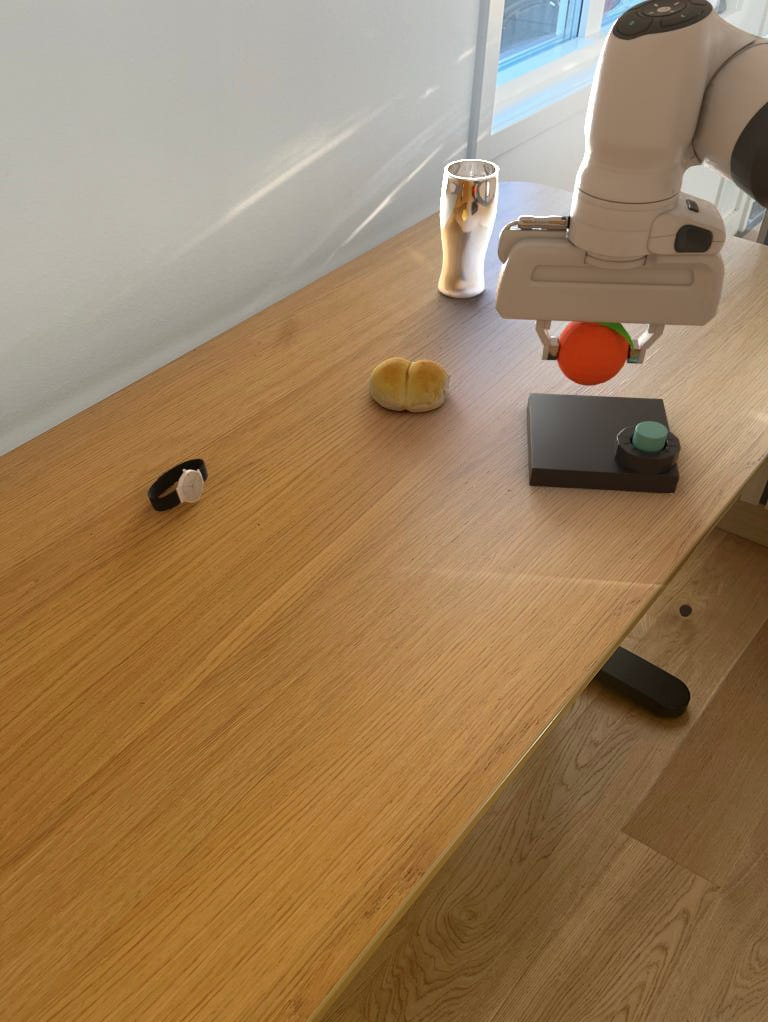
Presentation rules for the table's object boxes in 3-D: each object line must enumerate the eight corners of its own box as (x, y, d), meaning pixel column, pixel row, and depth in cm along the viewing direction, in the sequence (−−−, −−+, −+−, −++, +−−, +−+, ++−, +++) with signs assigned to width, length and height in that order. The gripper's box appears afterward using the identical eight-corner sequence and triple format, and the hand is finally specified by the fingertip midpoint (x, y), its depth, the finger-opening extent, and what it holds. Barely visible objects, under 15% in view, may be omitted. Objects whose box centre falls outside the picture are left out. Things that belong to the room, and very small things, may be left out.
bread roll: (377, 373, 111) (378, 341, 108) (452, 382, 109) (455, 350, 106) (360, 410, 106) (360, 378, 103) (439, 420, 104) (441, 388, 101)
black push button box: (657, 416, 103) (667, 383, 100) (674, 494, 93) (684, 460, 90) (526, 410, 104) (531, 377, 102) (528, 486, 95) (534, 453, 92)
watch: (174, 523, 93) (170, 493, 91) (138, 508, 95) (132, 479, 92) (220, 482, 98) (217, 453, 95) (184, 469, 99) (179, 440, 97)
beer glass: (431, 298, 124) (439, 178, 113) (438, 274, 128) (446, 157, 118) (484, 301, 122) (498, 181, 112) (489, 277, 127) (503, 159, 116)
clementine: (644, 383, 95) (661, 316, 90) (604, 411, 92) (620, 343, 87) (576, 356, 99) (589, 291, 94) (536, 381, 96) (547, 316, 91)
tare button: (661, 436, 94) (666, 421, 92) (665, 454, 92) (669, 439, 90) (630, 435, 94) (634, 420, 93) (633, 452, 92) (637, 437, 91)
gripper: (501, 230, 83) (484, 371, 93) (746, 235, 80) (701, 380, 90) (501, 201, 87) (485, 339, 97) (733, 205, 85) (692, 347, 95)
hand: (591, 359), depth 94 cm, fingers closed on clementine, 7 cm apart
